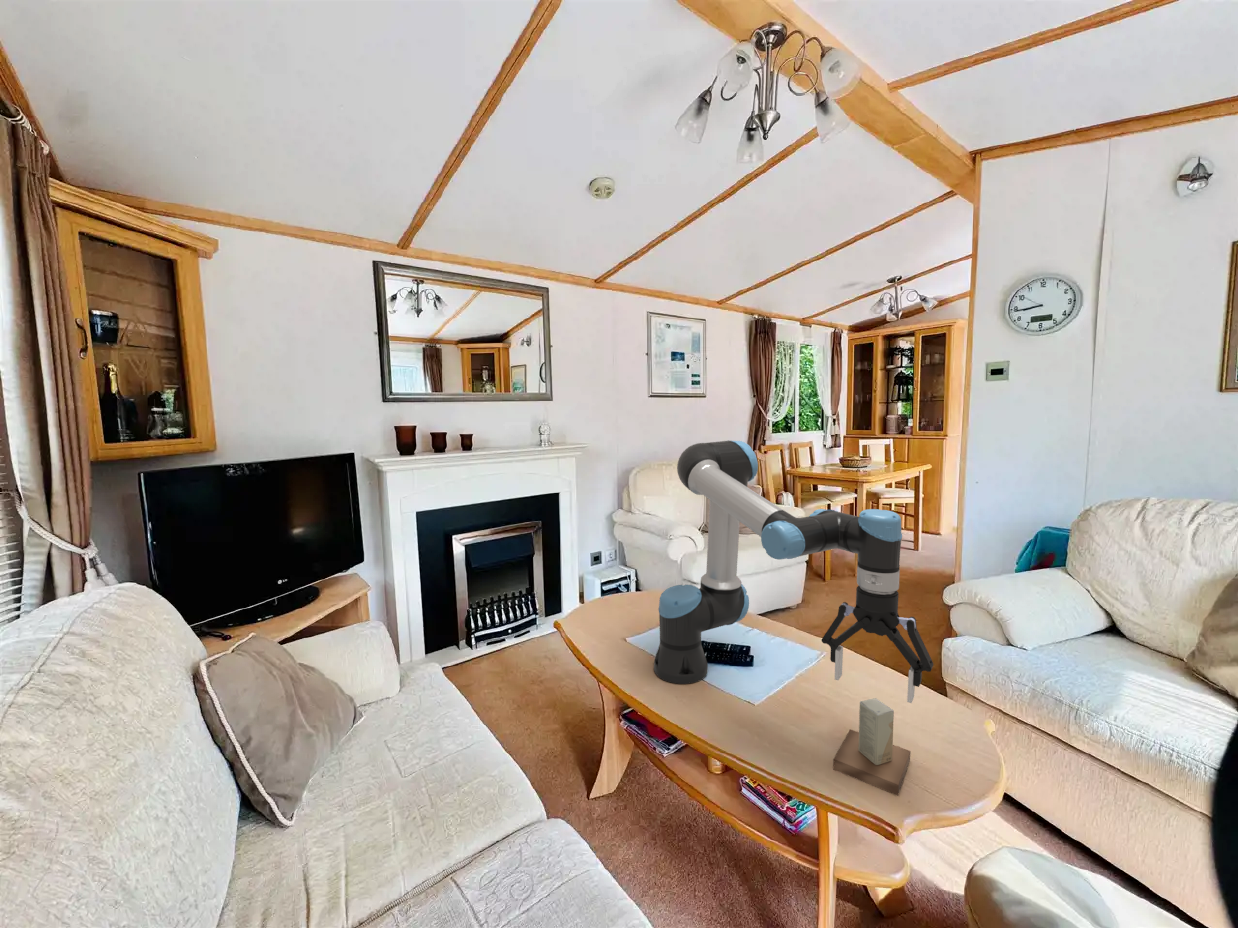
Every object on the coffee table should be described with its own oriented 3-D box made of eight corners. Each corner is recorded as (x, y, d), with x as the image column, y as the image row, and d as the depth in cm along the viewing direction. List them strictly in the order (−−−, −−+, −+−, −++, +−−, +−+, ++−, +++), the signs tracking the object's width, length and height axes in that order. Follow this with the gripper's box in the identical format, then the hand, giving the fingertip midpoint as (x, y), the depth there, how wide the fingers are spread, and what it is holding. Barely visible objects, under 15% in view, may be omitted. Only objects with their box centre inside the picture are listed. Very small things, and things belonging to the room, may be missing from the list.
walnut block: (833, 771, 107) (833, 758, 106) (849, 741, 116) (849, 729, 116) (897, 798, 99) (898, 784, 99) (909, 764, 109) (910, 750, 108)
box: (892, 761, 105) (895, 711, 104) (875, 766, 104) (878, 715, 102) (872, 744, 110) (875, 696, 109) (856, 749, 109) (858, 700, 107)
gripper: (807, 580, 108) (805, 676, 111) (948, 609, 92) (941, 719, 95) (819, 570, 114) (817, 661, 116) (953, 596, 98) (947, 700, 101)
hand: (873, 687), depth 106 cm, fingers open, 13 cm apart
